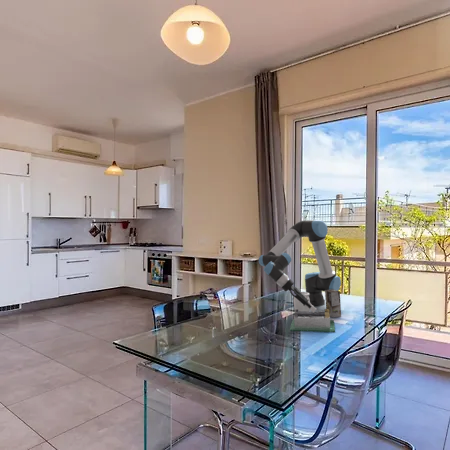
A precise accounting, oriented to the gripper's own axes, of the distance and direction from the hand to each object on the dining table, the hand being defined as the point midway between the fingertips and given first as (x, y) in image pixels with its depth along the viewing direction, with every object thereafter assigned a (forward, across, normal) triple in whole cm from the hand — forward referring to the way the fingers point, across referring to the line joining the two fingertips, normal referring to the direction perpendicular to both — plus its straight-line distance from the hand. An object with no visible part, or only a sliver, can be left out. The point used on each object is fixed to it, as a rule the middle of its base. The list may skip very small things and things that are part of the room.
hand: (314, 310), depth 207 cm
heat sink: (+5, -1, -8) cm, 10 cm away
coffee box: (+14, -25, +1) cm, 29 cm away
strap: (0, -1, -3) cm, 3 cm away
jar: (0, -22, -13) cm, 26 cm away
